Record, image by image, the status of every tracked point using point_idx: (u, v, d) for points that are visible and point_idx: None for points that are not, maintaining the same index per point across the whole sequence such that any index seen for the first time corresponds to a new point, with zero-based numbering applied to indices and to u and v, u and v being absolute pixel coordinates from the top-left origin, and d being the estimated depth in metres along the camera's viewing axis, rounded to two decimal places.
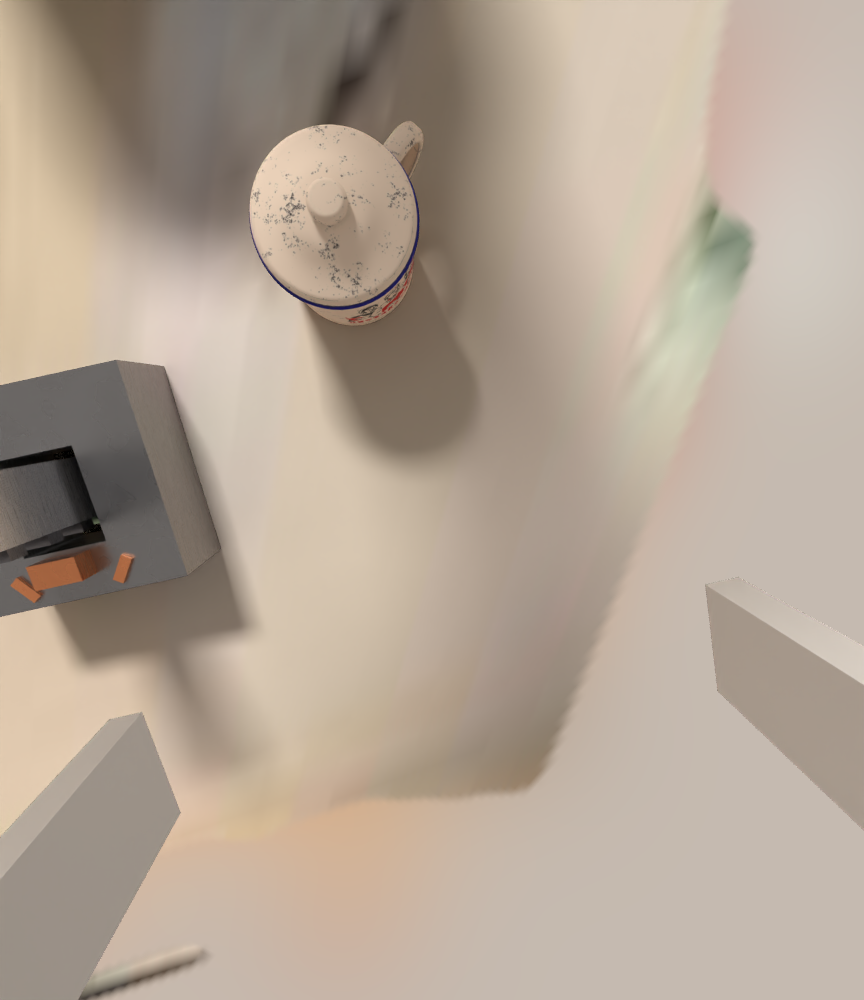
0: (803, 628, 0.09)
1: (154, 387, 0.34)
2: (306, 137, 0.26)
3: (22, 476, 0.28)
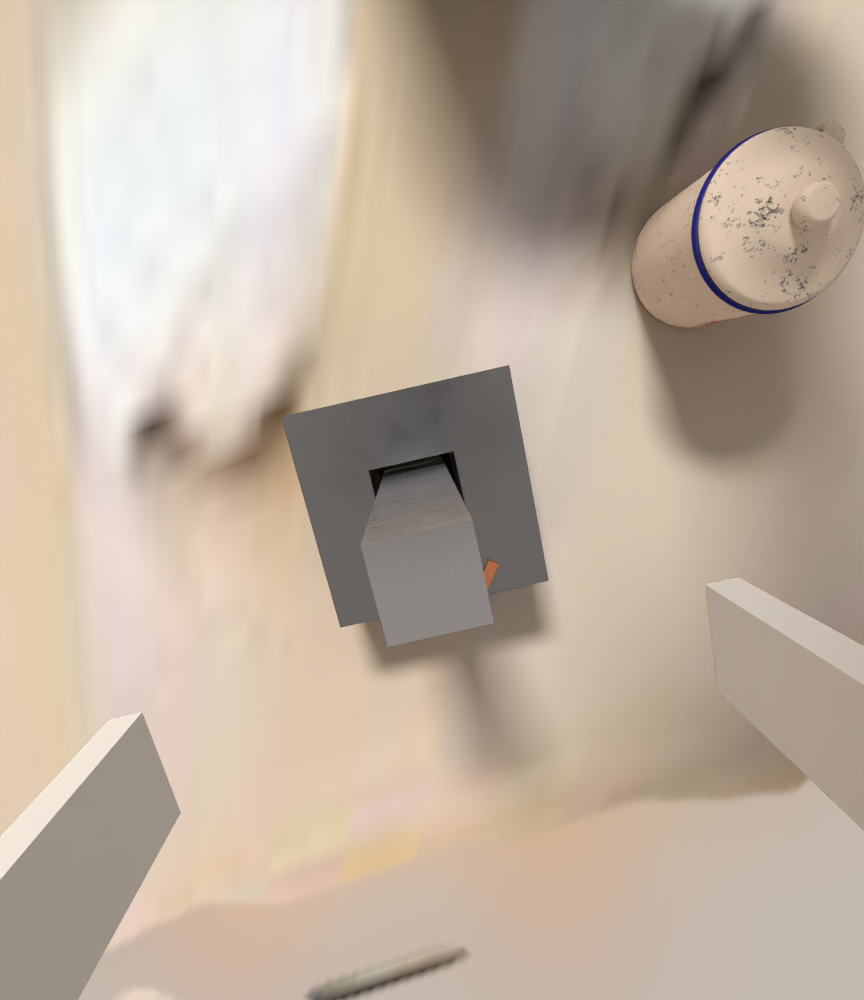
0: (803, 628, 0.09)
1: None
2: (775, 139, 0.25)
3: None
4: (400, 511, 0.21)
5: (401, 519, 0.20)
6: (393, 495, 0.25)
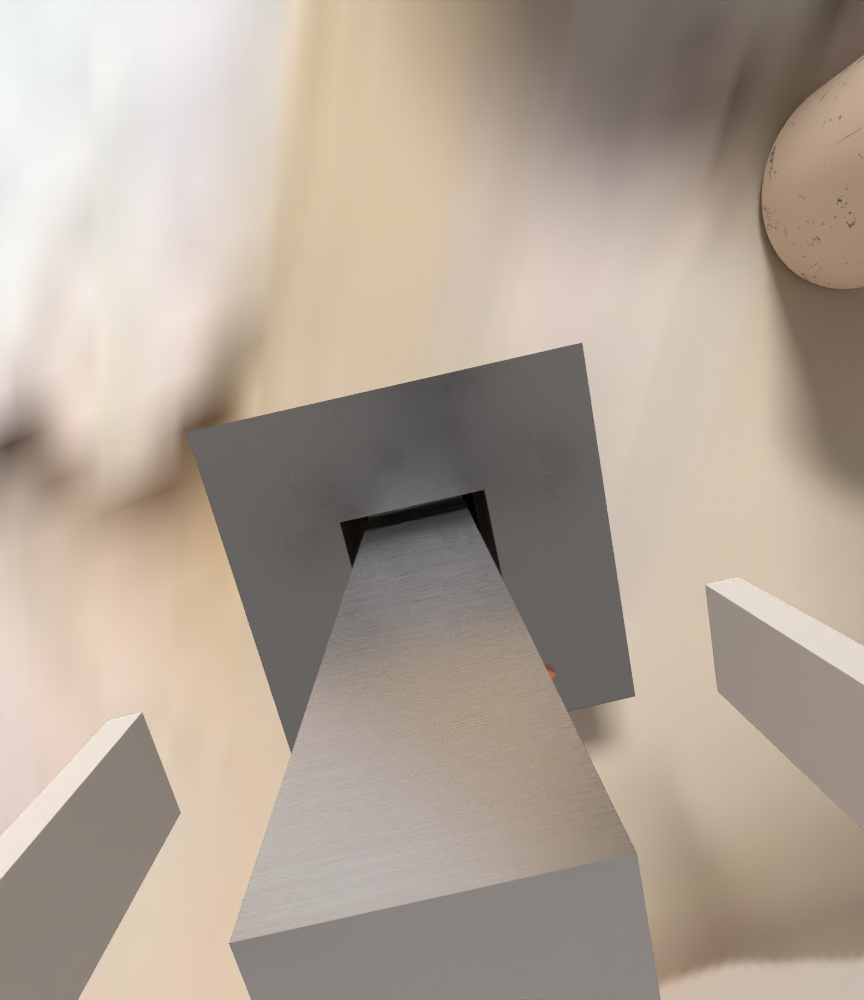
0: (803, 628, 0.09)
1: None
2: None
3: None
4: (385, 684, 0.09)
5: (385, 743, 0.07)
6: (376, 598, 0.12)
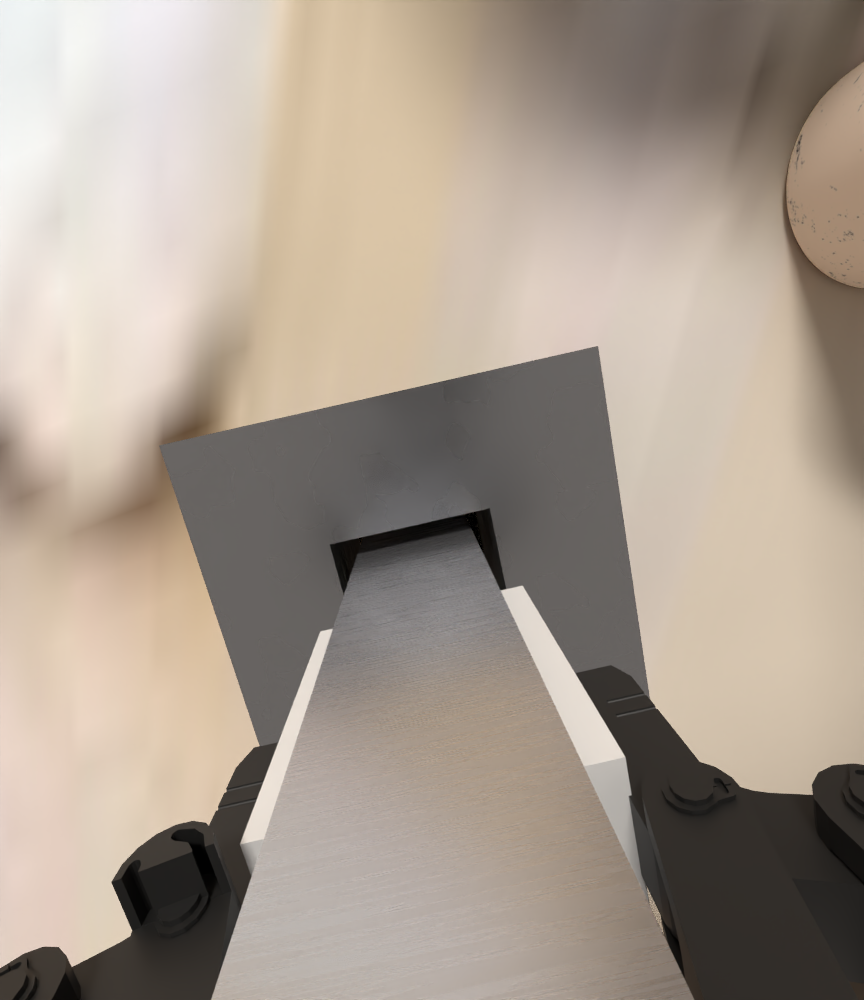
0: (530, 628, 0.11)
1: None
2: None
3: None
4: (375, 773, 0.07)
5: (373, 876, 0.05)
6: (367, 643, 0.11)
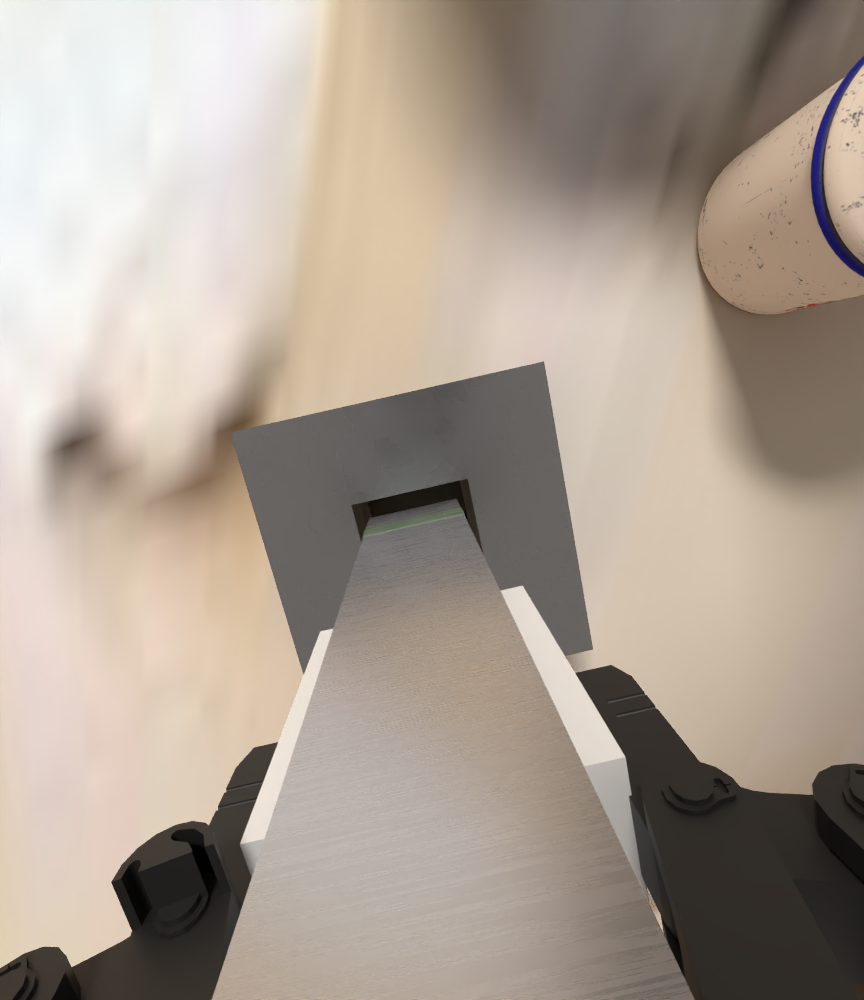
0: (529, 628, 0.11)
1: None
2: None
3: None
4: (376, 773, 0.07)
5: (373, 876, 0.05)
6: (367, 643, 0.11)
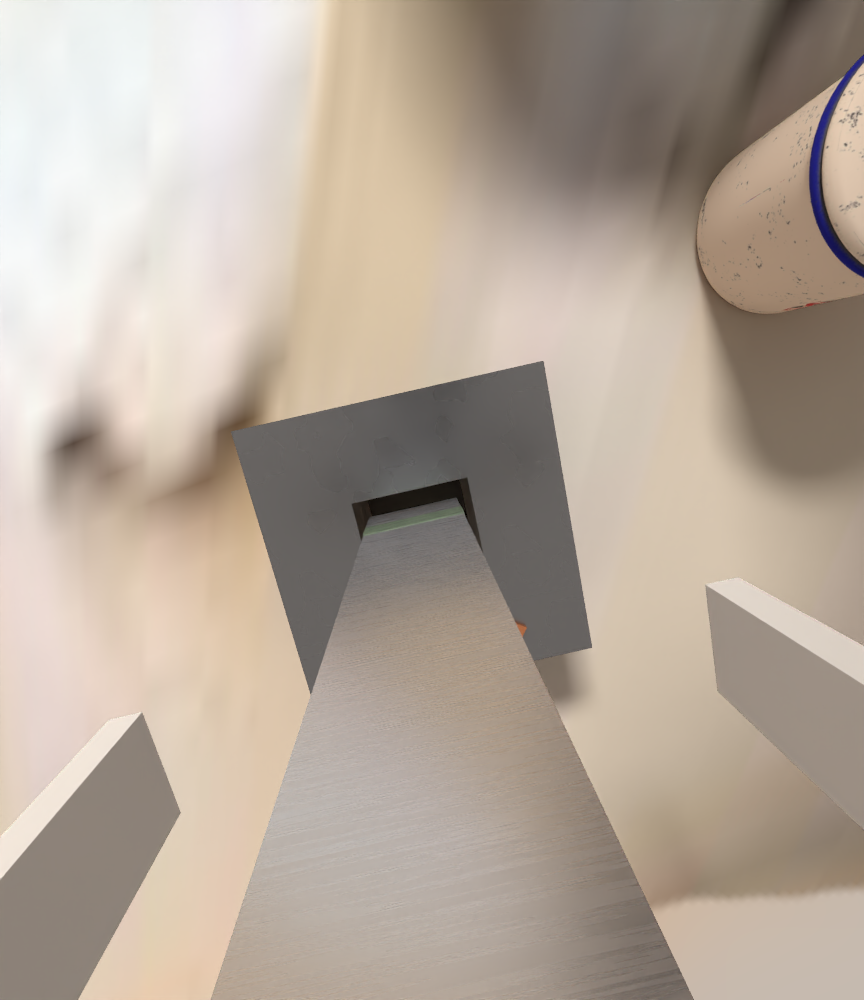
0: (803, 628, 0.09)
1: None
2: None
3: None
4: (375, 772, 0.07)
5: (372, 874, 0.05)
6: (367, 642, 0.11)
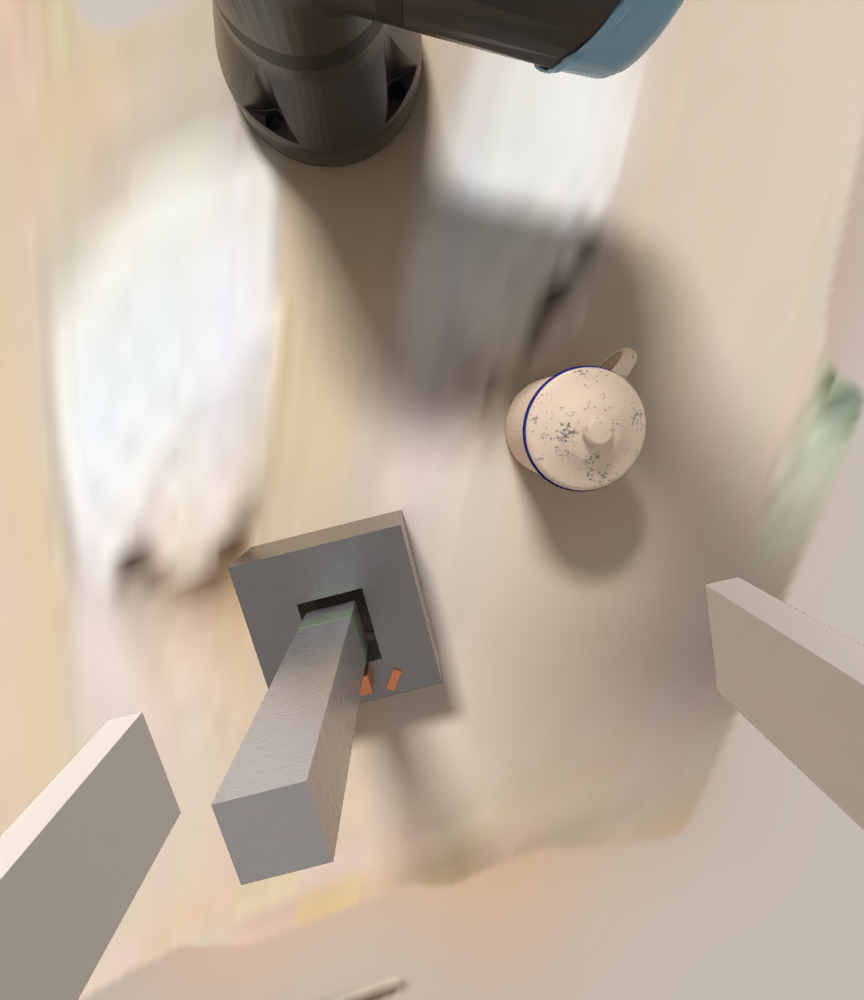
0: (803, 628, 0.09)
1: (405, 532, 0.44)
2: (573, 379, 0.35)
3: (341, 668, 0.31)
4: (269, 736, 0.24)
5: (261, 757, 0.23)
6: (280, 694, 0.28)
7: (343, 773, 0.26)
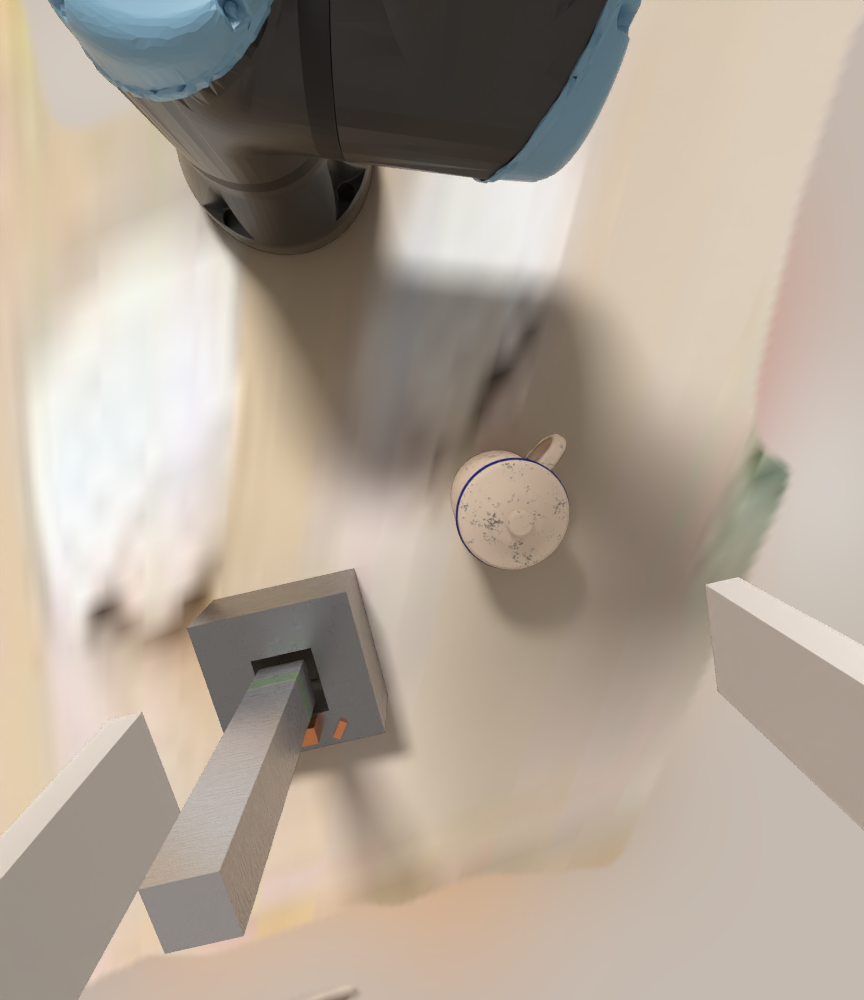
0: (803, 628, 0.09)
1: (355, 592, 0.47)
2: (501, 472, 0.38)
3: (277, 739, 0.34)
4: (198, 817, 0.28)
5: (187, 840, 0.27)
6: (216, 768, 0.32)
7: (266, 845, 0.30)
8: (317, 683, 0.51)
